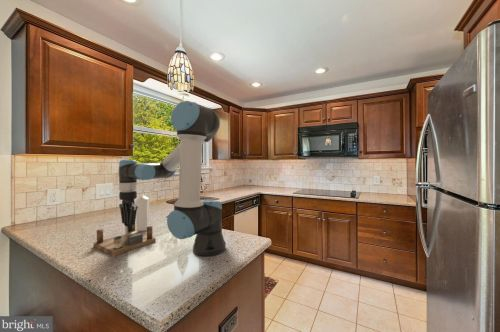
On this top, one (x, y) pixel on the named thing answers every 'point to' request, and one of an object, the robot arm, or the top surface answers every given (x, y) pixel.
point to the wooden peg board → (133, 241)
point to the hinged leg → (123, 239)
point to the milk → (142, 213)
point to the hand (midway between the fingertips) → (128, 238)
